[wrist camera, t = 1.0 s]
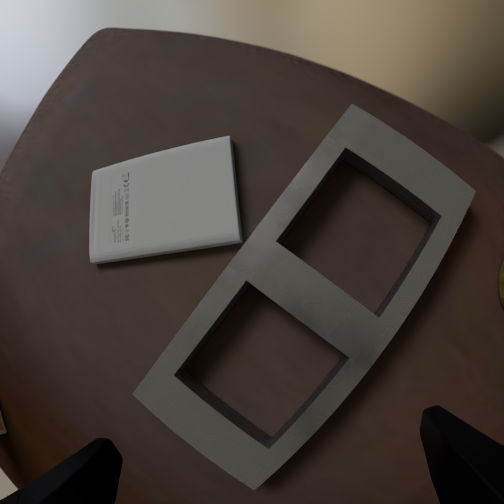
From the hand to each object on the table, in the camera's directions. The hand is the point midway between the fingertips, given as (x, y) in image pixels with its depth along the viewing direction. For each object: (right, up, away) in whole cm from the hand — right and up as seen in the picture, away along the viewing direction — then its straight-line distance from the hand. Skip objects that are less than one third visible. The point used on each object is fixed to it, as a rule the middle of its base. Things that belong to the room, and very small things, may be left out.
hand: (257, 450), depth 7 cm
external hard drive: (-7, +9, +17) cm, 21 cm away
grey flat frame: (+4, +2, +14) cm, 14 cm away
